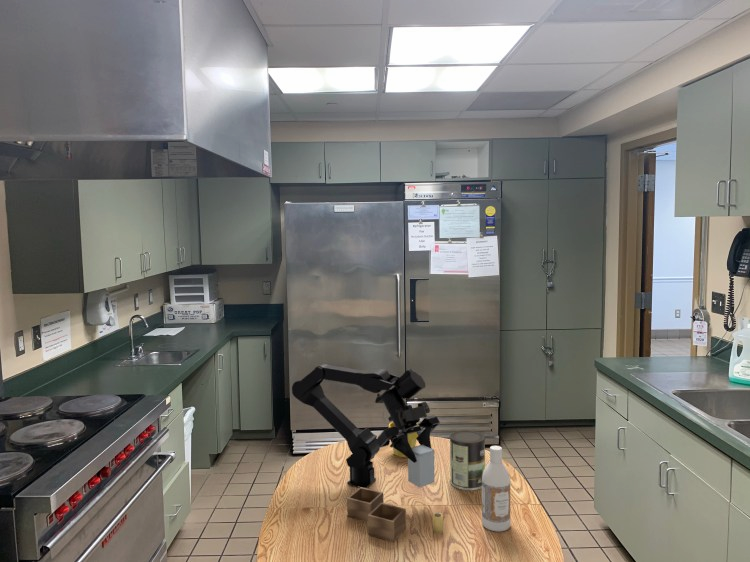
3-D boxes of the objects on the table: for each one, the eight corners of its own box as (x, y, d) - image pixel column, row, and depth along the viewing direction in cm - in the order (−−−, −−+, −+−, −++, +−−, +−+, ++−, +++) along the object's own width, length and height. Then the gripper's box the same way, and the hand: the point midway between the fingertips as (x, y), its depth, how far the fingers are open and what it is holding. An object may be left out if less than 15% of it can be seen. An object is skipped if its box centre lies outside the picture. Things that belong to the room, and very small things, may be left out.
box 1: (347, 516, 138) (347, 498, 138) (360, 504, 144) (360, 486, 144) (370, 523, 135) (370, 504, 134) (383, 510, 141) (383, 492, 141)
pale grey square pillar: (408, 481, 143) (408, 448, 143) (422, 475, 146) (422, 444, 146) (419, 487, 140) (419, 454, 139) (434, 482, 143) (434, 449, 142)
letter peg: (431, 530, 131) (430, 514, 131) (438, 527, 133) (438, 511, 132) (437, 534, 129) (437, 518, 129) (444, 531, 131) (444, 515, 130)
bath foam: (489, 534, 129) (489, 454, 127) (477, 519, 136) (477, 443, 134) (515, 530, 130) (515, 451, 129) (502, 516, 137) (502, 441, 136)
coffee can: (485, 476, 160) (485, 430, 159) (485, 492, 150) (485, 443, 149) (450, 473, 162) (450, 428, 161) (448, 489, 152) (448, 441, 151)
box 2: (368, 534, 130) (367, 515, 129) (381, 521, 136) (381, 502, 135) (393, 542, 126) (393, 522, 126) (406, 528, 132) (405, 508, 132)
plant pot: (425, 452, 179) (425, 424, 178) (405, 462, 171) (405, 432, 170) (402, 444, 186) (402, 417, 185) (382, 453, 178) (381, 425, 177)
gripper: (382, 400, 139) (410, 454, 131) (435, 387, 150) (463, 436, 142) (366, 421, 146) (391, 473, 138) (417, 407, 157) (443, 455, 149)
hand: (423, 459), depth 142 cm, fingers closed on pale grey square pillar, 5 cm apart
